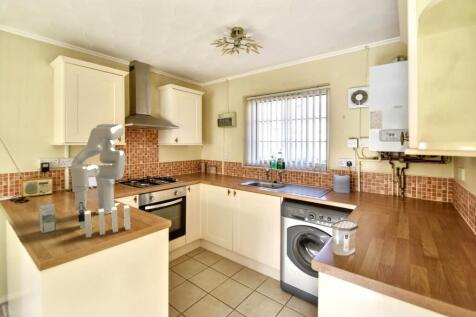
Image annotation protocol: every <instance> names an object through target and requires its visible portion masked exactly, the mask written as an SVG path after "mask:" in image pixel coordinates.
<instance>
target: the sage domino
mask: <svg viewBox="0 0 476 317" xmlns="http://www.w3.org/2000/svg"><path fill="white" fill-rule="evenodd" d="M78 209H80V208H78ZM79 229H81V230H82V229H85V221H83V222H79Z"/></svg>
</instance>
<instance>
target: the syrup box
mask: <svg viewBox="0 0 476 317" xmlns="http://www.w3.org/2000/svg"><path fill="white" fill-rule="evenodd" d="M38 215H39V216H38V217H39V228H40V230H39V231H40V232H41V233H42V234H47V233H51V232H55V231H56V230H57V227H56V226H57V225H56V224H57V219H56V207H55V204H54V203H52V202H49V203H43V204H39V205H38Z"/></svg>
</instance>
